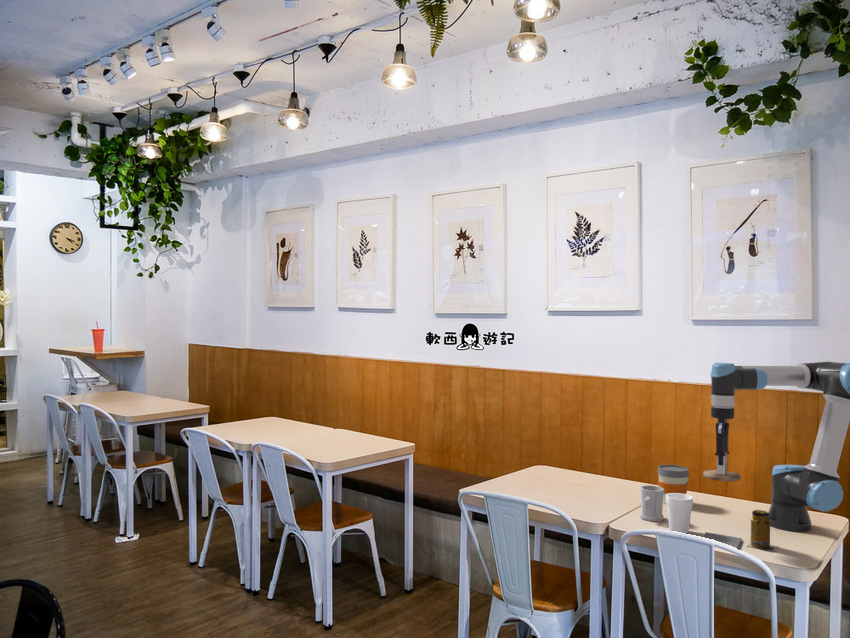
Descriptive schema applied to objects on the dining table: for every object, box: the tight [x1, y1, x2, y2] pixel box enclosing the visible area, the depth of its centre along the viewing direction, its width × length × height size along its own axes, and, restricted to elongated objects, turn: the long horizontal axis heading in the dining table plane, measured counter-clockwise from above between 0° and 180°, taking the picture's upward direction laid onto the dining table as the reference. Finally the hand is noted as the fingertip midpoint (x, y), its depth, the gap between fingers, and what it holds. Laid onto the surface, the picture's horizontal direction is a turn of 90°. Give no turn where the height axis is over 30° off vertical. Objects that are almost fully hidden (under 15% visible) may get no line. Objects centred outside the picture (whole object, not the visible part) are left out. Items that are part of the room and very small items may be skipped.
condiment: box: [746, 509, 779, 552], centre depth 234 cm, size 7×8×12 cm
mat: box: [702, 531, 743, 549], centre depth 238 cm, size 12×12×1 cm
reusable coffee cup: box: [657, 464, 690, 506], centre depth 287 cm, size 13×13×15 cm
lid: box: [702, 452, 741, 482], centre depth 238 cm, size 12×12×9 cm
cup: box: [639, 484, 664, 522], centre depth 264 cm, size 10×9×12 cm
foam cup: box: [666, 493, 694, 534], centre depth 249 cm, size 10×9×13 cm
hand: (721, 472), depth 238 cm, fingers closed on lid, 3 cm apart
